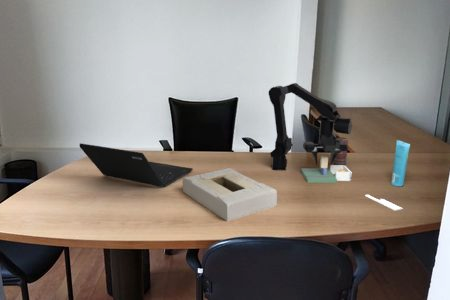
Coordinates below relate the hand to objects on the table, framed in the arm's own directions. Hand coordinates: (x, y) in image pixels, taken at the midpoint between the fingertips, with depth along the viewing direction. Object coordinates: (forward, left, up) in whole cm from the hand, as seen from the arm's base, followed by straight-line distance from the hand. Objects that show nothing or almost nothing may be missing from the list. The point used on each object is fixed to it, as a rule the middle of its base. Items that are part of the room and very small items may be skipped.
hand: (323, 164), depth 175 cm
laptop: (-83, -3, -6) cm, 83 cm away
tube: (+30, -9, -6) cm, 32 cm away
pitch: (-2, 0, -6) cm, 6 cm away
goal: (+8, 0, -6) cm, 10 cm away
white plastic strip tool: (+17, -28, -6) cm, 33 cm away
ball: (+9, 0, -4) cm, 10 cm away
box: (-44, -25, -7) cm, 51 cm away
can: (+12, +16, -6) cm, 21 cm away
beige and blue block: (0, 0, -4) cm, 4 cm away
